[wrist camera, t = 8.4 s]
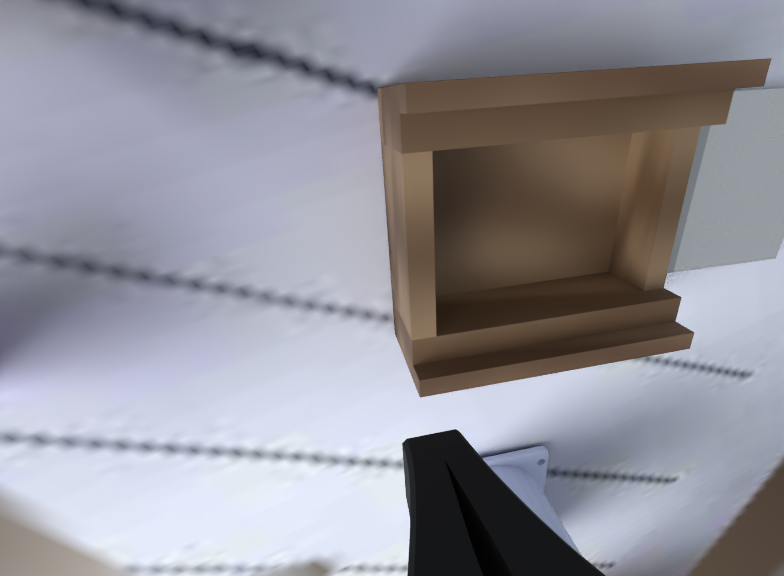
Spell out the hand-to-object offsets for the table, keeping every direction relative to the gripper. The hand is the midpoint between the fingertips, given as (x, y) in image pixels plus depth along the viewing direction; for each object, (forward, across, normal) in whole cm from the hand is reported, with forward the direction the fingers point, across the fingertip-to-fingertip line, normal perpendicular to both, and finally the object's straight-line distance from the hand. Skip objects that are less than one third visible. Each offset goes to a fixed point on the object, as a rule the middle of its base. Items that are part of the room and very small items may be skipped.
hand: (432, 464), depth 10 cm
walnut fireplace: (+10, -7, -3) cm, 13 cm away
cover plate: (+11, -18, -3) cm, 21 cm away
